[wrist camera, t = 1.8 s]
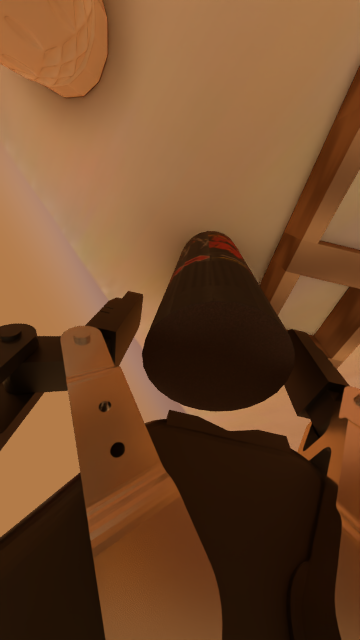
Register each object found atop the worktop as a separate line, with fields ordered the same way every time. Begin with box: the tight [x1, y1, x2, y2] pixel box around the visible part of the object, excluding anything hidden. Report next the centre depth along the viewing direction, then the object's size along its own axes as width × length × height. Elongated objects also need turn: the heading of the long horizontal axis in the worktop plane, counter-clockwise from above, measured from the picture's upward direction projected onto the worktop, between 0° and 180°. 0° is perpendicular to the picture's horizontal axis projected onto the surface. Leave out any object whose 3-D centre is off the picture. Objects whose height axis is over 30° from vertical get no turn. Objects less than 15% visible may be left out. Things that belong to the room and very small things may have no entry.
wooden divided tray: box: [260, 67, 360, 369], centre depth 17 cm, size 24×10×4 cm, turn 169°
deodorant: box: [142, 231, 295, 411], centre depth 14 cm, size 6×6×15 cm
